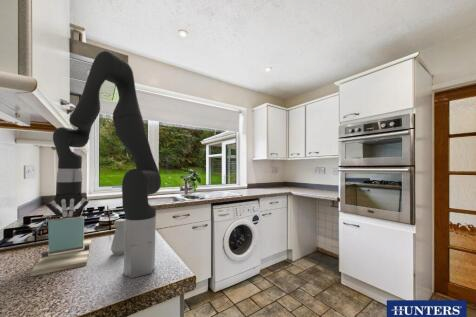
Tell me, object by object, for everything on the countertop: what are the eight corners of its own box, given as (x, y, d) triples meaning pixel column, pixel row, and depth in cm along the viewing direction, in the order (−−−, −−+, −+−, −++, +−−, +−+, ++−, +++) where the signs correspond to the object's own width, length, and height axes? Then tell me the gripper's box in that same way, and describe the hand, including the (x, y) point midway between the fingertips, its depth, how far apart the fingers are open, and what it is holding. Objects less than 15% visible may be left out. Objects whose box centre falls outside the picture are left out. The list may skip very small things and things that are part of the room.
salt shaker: (120, 257, 76) (121, 222, 77) (107, 255, 77) (108, 221, 78) (131, 251, 82) (132, 218, 82) (118, 249, 83) (119, 217, 84)
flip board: (86, 265, 70) (86, 256, 70) (29, 276, 63) (30, 267, 63) (91, 241, 92) (92, 235, 92) (50, 247, 85) (50, 240, 85)
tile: (83, 247, 81) (83, 249, 80) (49, 253, 75) (48, 255, 74) (84, 216, 79) (83, 217, 77) (49, 219, 73) (48, 221, 72)
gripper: (43, 181, 71) (41, 232, 71) (90, 180, 78) (88, 226, 78) (48, 180, 78) (46, 226, 77) (91, 179, 85) (90, 221, 84)
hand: (67, 226), depth 77 cm, fingers closed
